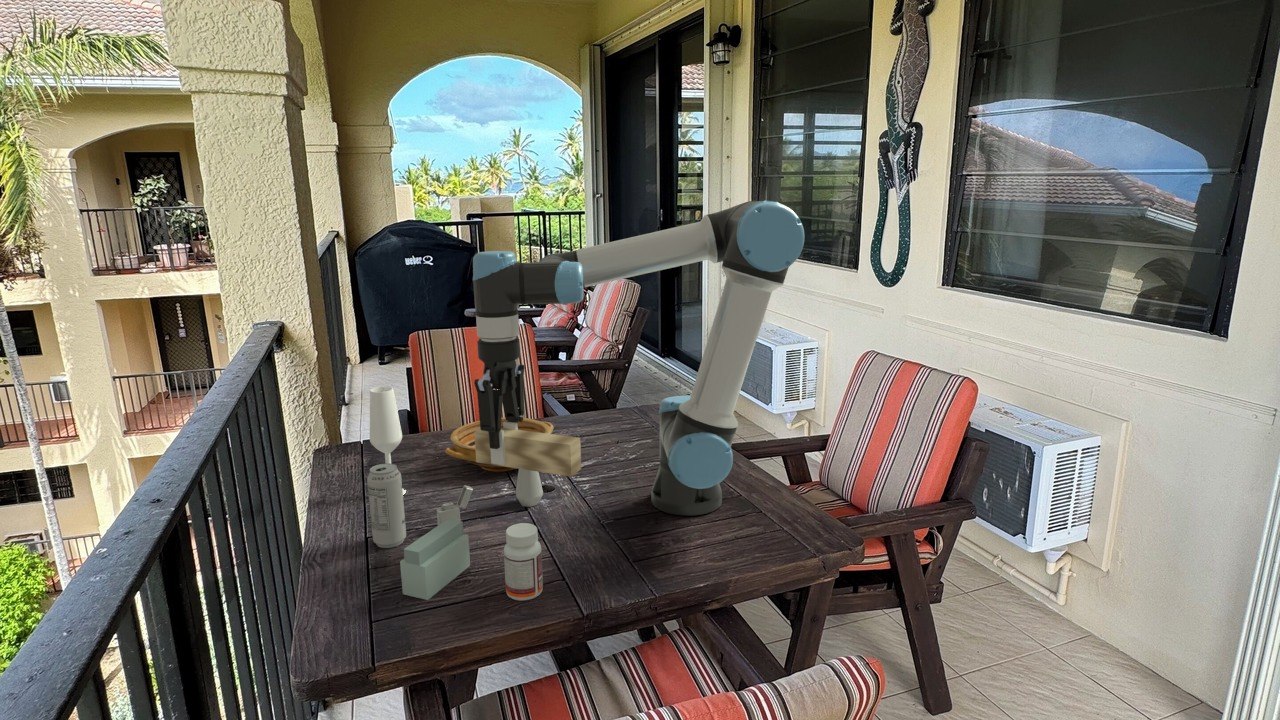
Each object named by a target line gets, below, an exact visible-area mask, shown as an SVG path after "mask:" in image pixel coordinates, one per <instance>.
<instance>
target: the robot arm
mask: <svg viewBox="0 0 1280 720" xmlns="http://www.w3.org/2000/svg"><path fill="white" fill-rule="evenodd" d="M804 244H805V229H804V226H803V223H802V221H801V219H800V217H799V216H798V215H797V213H796V212H795V211H794V210H792V209H791V208H790V207H788V206H787V205H785V204H782V203H779V202H778V201H772V200H748V201H746V202H742V203H740V204H736V205H735V206H732V207H729V208H726V209H723V210H719V211H717V212H713V213H708V214H705V215H703V217H702V219H701V220H700V221H697V222H694V223H693V222H692V223H689V224H684V225H680V226H679V225H678V226H675V227H670V228H667V229H662V230H657V231H654V232H650V233H644V234H639V235H637V236H636V235H635V236H631V237H628V238H623V239H618V240H614V241H610V242H604V243H600V244H596V245H592V246H588V247H587V246H586V247H584V248H579V249H578V248H577V249H576V250H571V251H566V252H562V253H557V252H556V253H550V254H548V255H545V256H544V257H542V258H541V259H540V260H539V261H538V262H537V261H535V262H521V261H517V258H516V254H515V253H514V252H513V251H511V250H510V251H509V250H491V251H490V250H489V251H488V250H487V251H480V252H477V253H476V254H475V255H474V256H473V257H472V268H473V269H472V273H473V274H472V275H473V276H472V283H473V285H472V286H473V295H474V296H473V297H474V308H475V311H474V312H475V319H476V336H477V337H478V338H479V339H478V340H477V341H476V342H477V358H478V360H480V361H482V362H483V364H484V365H483V366H484V367H483V372H482V374H483V376H482V377H481V378H480V379H478V378H475V379H474V387H475V390H476V393H477V394H476V396H477V405H478V418H479V421H480V429H481V430H482V431H488V432H489V444H490V451H491V463H492V464H499V465H505V464H506V457H505V439H504V430H501V421H502V418H503V413H504V418H506V420H508V422H507V421H505V422H503V428H508V429H515V430H518V422H522V421H523V418H524V417H521V416H524V415H525V391H524V375H525V364H520V363H519V364H518V363H517V361H516V360H518V359H519V358H520V356H521V346H520V345H521V344H520V343H521V342H520V338H519V337H517V336H519V335H520V323H519V309H518V306H519V305H522V306H523V305H524V306H525V305H562V306H564V305H568V304H579V303H581V302H583V300H584V297H585V296H584V289H585V288H587V287H592V286H597V285H600V284H606V283H611V282H615V281H618V280H623V279H628V278H631V277H636V276H637V277H638V276H641V275H645V274H649V273H654V272H659V271H663V270H667V269H668V270H669V269H672V268H678V267H680V266H686V265H690V264H695V263H698V262H703V261H707V260H708V261H710V262H711V263H714V264H718V263H721V262H722V264H721V269H722V271H723V274H724V276H725V279H726V280H725V282H724V285H723V288H722V292H721V297H720V299H719V302H718V306H717V308H716V312H715V316H714V319H713V321H712V326H711V329H710V332H709V335H708V339H707V342H706V345H705V349H704V352H703V355H702V358H701V361H700V364H699V368H698V371H697V374H696V378H695V381H694V384H693V386H692V387H693V388H692V392H691V393H690V395H677V396H676V395H675V396H674V395H673V396H669V397H665V398H664V399H662V400H661V401H660V403H659V411H658V415H659V467H658V470H657V472H656V476H655V478H654V481H653V483H652V484H653V485H652V487H651V491H650V492H651V493H650V494H651V495H650V497H651V500H650V501H651V505H653V506H654V508H656V509H658V510H660V511H662V512H664V513H667V514H671V515H676V516H685V517H686V516H687V517H688V516H700V515H705V514H710V513H712V512H714V511H716V510H717V509H719V508H720V507H721V506H722V502H723V492H722V488H721V485H720V483H721V482H723V481H724V480H725V479H726V478H727V476H729V474H730V472H731V470H732V467H733V463H734V456H733V450H732V446H733V445H732V444H733V442H734V439H735V435H736V432H737V430H738V426H739V421H738V419H737V418H736V416H735V414H734V411H735V408H736V405H737V403H738V399H739V396H740V394H741V389H742V386H743V383H744V380H745V378H746V374H747V371H748V368H749V364H750V362H751V358H752V355H753V352H754V350H755V345H756V343H757V341H758V340H757V339H758V338H759V333H760V332H761V331H760V330H761V328H762V324H763V320H764V318H765V315H766V312H767V308H768V305H769V302H770V299H771V296H772V293H773V292H774V290H777V289H778V288H780V287H782V286H783V285H784V283H785V280H786V276H787V273H788V271H789V267H791V266H792V265H793V264H794V263H795V262H796V261H797V259H799V257H800V256H801V254H802V251H803V248H804Z"/></svg>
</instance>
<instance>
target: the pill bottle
mask: <svg viewBox="0 0 1280 720" xmlns="http://www.w3.org/2000/svg"><path fill="white" fill-rule="evenodd" d="M538 535H539V533H538V527H537V526H536V525H535V524H532V523H528V522H521V523H516V524H513V525H510V526H508V527H507V529H506V530H505V541H506V543H505V546H504V547H503V560H504V561H503V562H504V563H503V564H504V578H505V579H504V581H505V593H506V594H507V595H506V596H508V597H509V598H510V599H512V600H514V601H530V600H533V599H535V598H537V597H538V596H540V595H541V593H542V592H543V587H544V581H543V580H544V578H543V556H542V550H543V549H542V546H541V543H540V541H539V539H538V538H539V536H538Z"/></svg>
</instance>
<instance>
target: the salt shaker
mask: <svg viewBox="0 0 1280 720" xmlns="http://www.w3.org/2000/svg"><path fill="white" fill-rule="evenodd" d="M517 472H518V473H517V480H516V485H515V487H516V489H515V496H516V498H517V500H518V502H519V504H520V505H521V506H522V507H529V508H532V507H535V506H537V505H539V503H540V500H541V499H542V497H543V496H544V490H543V487H542V481H541V477H540V473H539V472H537V471H531V470H524V469H518V471H517Z"/></svg>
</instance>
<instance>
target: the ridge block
mask: <svg viewBox="0 0 1280 720" xmlns="http://www.w3.org/2000/svg"><path fill="white" fill-rule="evenodd" d="M469 544H470V542H469V534H466V533H464V522H463V521H462V520H460V521H458V520H453V519H447V520H446V521H444V522H443V523H441V524H440V525H438V524H437V525H436V526H435V527H434V528H432V529H431V530H430V531H428V532H427V533H425V534H424V535H422V536H420V537H419V538H417V539H416V540H415V541H414V542H413V541H412V543H411V544H409V545H408V546H406V547H405V548H403V557H404V558H403V559H401V560H400V561H399V564H400V567H399V569H400V577H401V578H400V579H401V585H402V586H401V589H402V595H405V596H409V597H414V598H416V599H417V598H418V599H420V600H421V599H422V600H424V601H425V600H426V601H428V600H430V599H431V598H433V597H434V596H435V595H436V594H438V592H440V591H441V590H442V589H443V588H444V587H446V586H447V585H448V584H450V583H451V582H452V581H453V580H455V579H456V578H457V577H458V576H459V575H461V574H462V573H463V572H465V571H466V570H467V569H468V568H469V567H471V558H470V555H471V554H470V545H469Z"/></svg>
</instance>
